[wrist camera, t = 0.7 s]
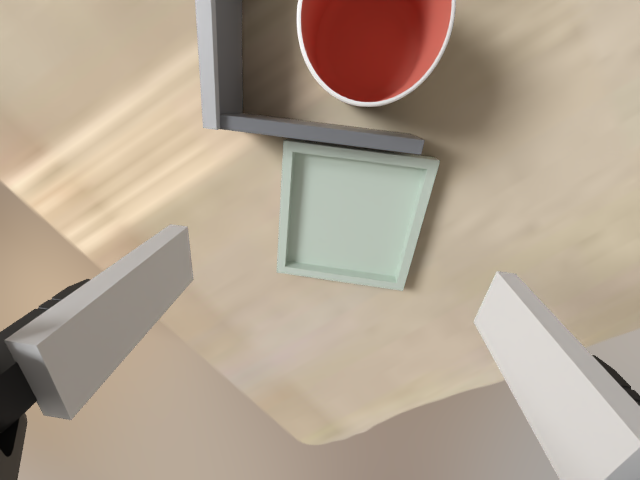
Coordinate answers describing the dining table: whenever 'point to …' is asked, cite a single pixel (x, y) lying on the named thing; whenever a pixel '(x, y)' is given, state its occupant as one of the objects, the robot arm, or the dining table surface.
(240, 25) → the bay
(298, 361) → the dining table surface
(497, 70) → the dining table surface
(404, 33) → the cup
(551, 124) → the dining table surface
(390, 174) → the tray
